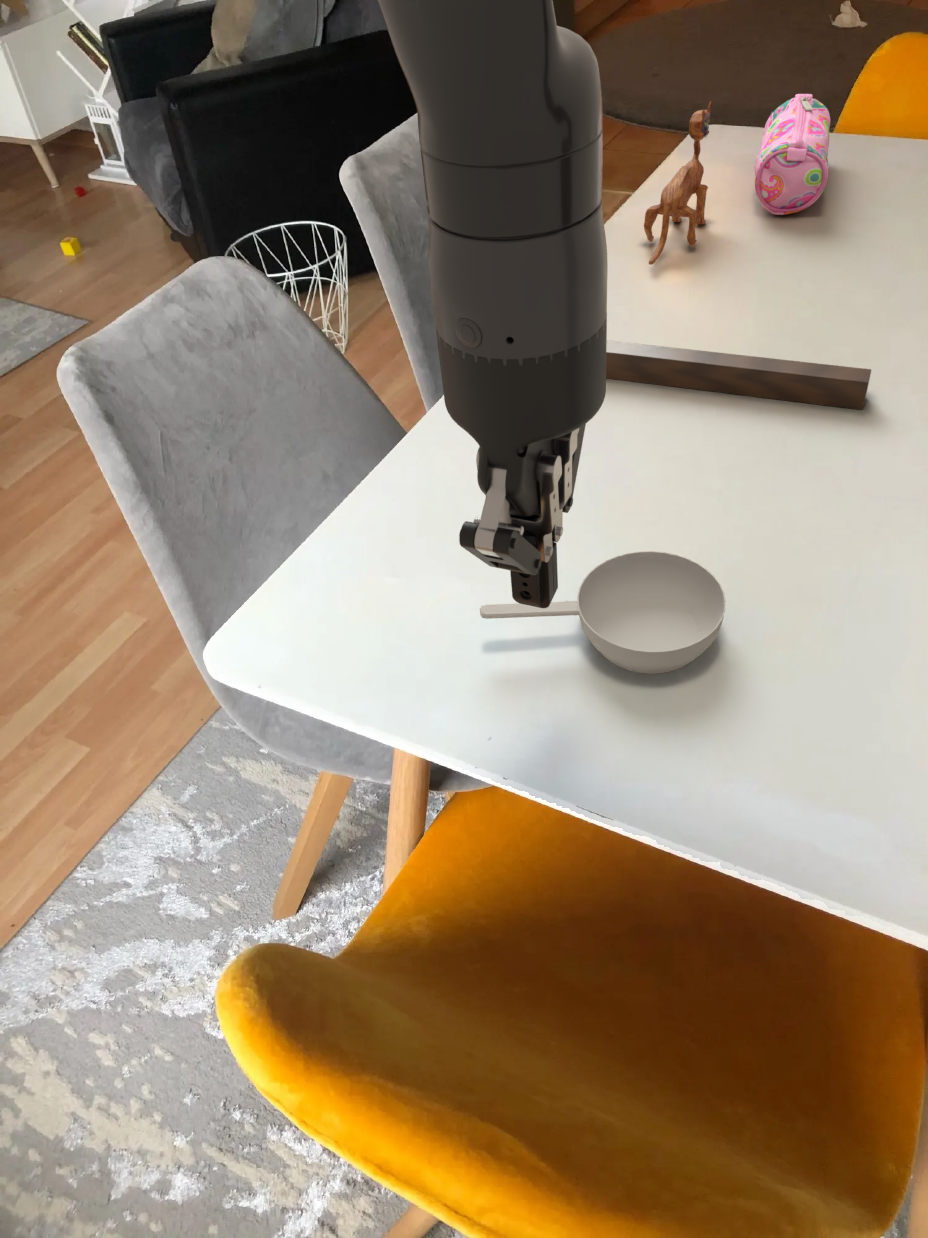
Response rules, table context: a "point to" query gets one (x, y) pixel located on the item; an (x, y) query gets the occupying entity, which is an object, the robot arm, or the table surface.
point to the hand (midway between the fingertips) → (535, 596)
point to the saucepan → (641, 610)
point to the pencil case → (793, 156)
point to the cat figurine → (682, 190)
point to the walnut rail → (738, 374)
